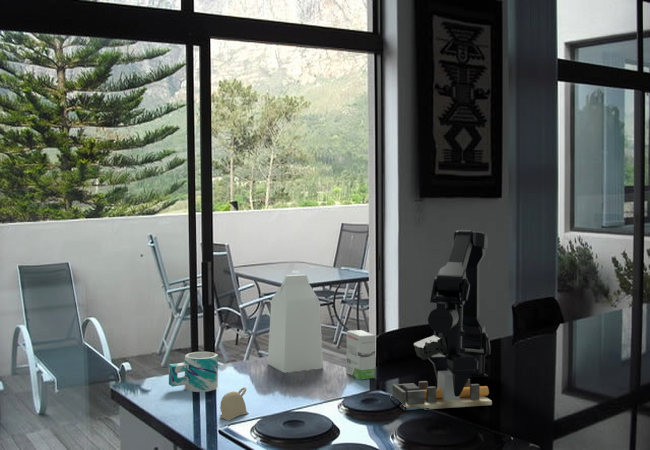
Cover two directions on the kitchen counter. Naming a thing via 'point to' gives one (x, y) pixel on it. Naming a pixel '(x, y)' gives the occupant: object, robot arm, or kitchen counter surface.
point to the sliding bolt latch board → (418, 397)
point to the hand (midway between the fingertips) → (448, 391)
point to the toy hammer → (447, 388)
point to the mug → (196, 372)
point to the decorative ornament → (233, 405)
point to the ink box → (360, 354)
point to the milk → (295, 327)
